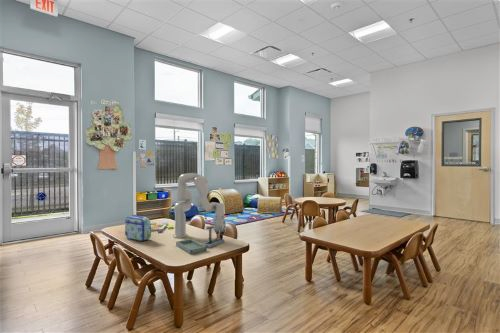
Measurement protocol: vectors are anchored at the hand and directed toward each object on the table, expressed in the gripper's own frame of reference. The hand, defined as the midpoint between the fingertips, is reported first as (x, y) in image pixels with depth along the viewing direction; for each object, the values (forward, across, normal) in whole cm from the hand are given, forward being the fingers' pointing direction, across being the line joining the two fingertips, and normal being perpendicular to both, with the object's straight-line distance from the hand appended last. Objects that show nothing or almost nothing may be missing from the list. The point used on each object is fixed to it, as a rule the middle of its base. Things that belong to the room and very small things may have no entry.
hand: (219, 238), depth 237 cm
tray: (+3, +8, +27) cm, 28 cm away
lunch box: (+3, +66, +34) cm, 75 cm away
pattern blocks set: (+3, +83, 0) cm, 83 cm away
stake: (+3, 0, +13) cm, 13 cm away
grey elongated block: (+3, 0, +9) cm, 9 cm away
